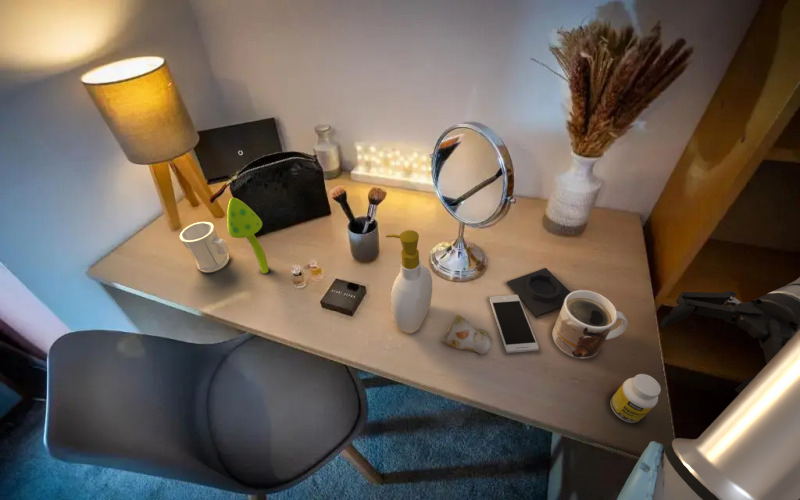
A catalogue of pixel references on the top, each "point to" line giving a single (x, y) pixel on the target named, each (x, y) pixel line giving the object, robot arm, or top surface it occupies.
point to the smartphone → (513, 324)
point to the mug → (586, 324)
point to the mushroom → (246, 227)
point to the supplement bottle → (635, 398)
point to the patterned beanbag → (467, 336)
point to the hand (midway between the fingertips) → (699, 352)
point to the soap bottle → (410, 286)
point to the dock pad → (540, 291)
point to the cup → (205, 246)
